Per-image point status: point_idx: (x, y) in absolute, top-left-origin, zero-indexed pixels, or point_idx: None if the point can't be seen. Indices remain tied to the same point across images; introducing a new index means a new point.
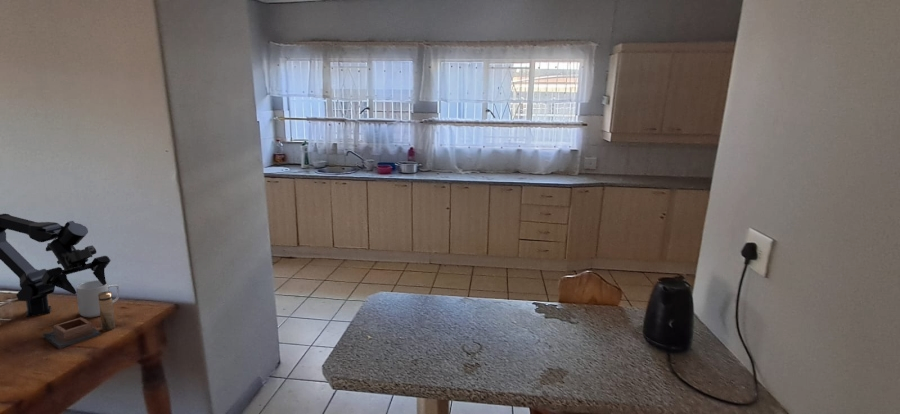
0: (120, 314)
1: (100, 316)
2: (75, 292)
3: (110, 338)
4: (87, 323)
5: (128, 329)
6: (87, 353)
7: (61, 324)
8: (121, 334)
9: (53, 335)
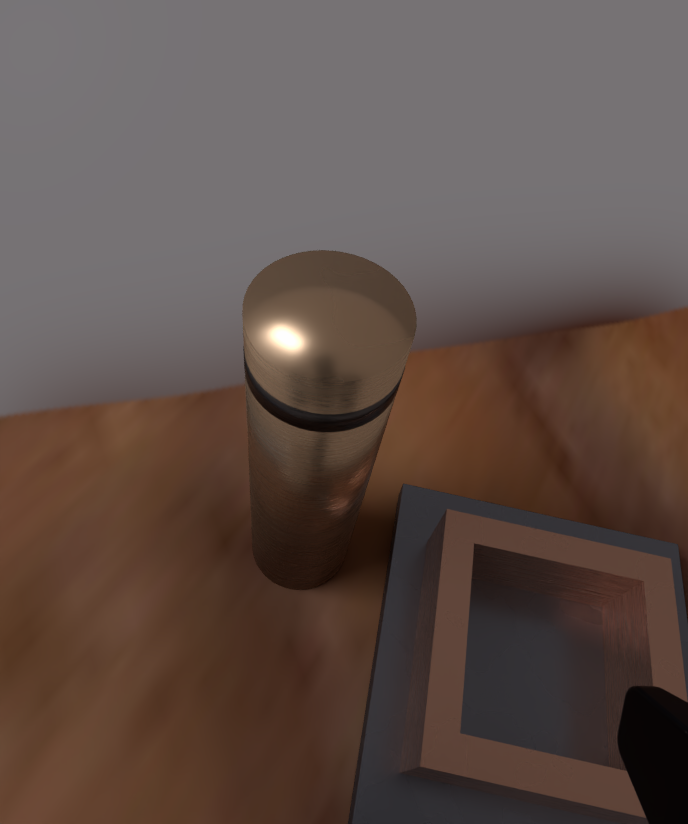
0: (3, 751)
1: (358, 509)
2: (649, 689)
3: None
4: (469, 544)
5: None
6: (569, 354)
7: None
8: None
9: None
